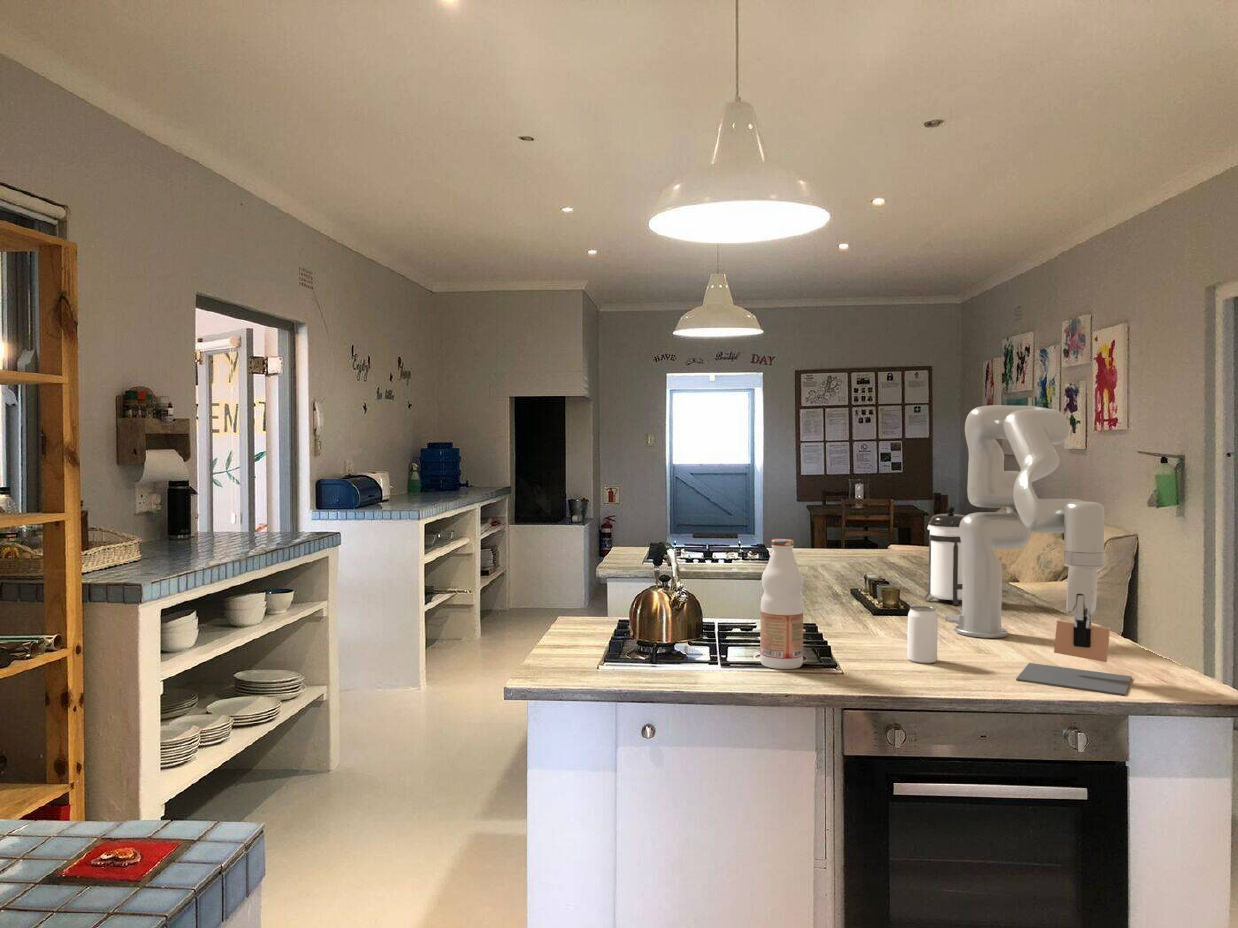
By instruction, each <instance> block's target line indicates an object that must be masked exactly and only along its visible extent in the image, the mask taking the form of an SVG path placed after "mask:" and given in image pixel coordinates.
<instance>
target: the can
mask: <svg viewBox="0 0 1238 928" xmlns="http://www.w3.org/2000/svg"><path fill="white" fill-rule="evenodd" d="M938 624H939V621H938V614H937V611H936V608H935V607H932V606H925V605H923V606H922V605H913V606H910V607H909V611H908V614H907V639H906V640H907V641H906V642H907V648H906V649H907V650H906V651H907V655H906V656H907V659H908V661H910V662H912V663H915V664H924V665H926V664H929V665H930V664H935V663H936V662H937V661H938V633H939V632H938V626H939V625H938Z"/></svg>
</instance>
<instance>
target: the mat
mask: <svg viewBox="0 0 1238 928" xmlns="http://www.w3.org/2000/svg"><path fill="white" fill-rule="evenodd" d="M1015 680H1016V681H1017V682H1024V683H1032V684H1040V685H1045V686H1046V685H1047V686H1053V687H1060V688H1069V689H1075V690H1081V691H1087V692H1088V691H1089V692H1096V693H1101V694H1107V695H1108V694H1109V695H1114V696H1115V695H1117V696H1124V697H1126V696H1127V692H1128V689H1129V687H1130V684H1131V681H1132V675H1125V674H1117V673H1109V672H1104V671H1103V672H1102V671H1095V670H1087V669H1079V668H1078V669H1077V668H1071V667H1064V666H1056V665H1049V664H1042V663H1041V664H1040V663H1034V662H1029V663H1028V664H1027V665H1026V666H1025V668H1024V669H1023V670H1022V671H1021V672H1020V673H1019V674H1018V676H1017V677H1016V679H1015Z"/></svg>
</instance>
